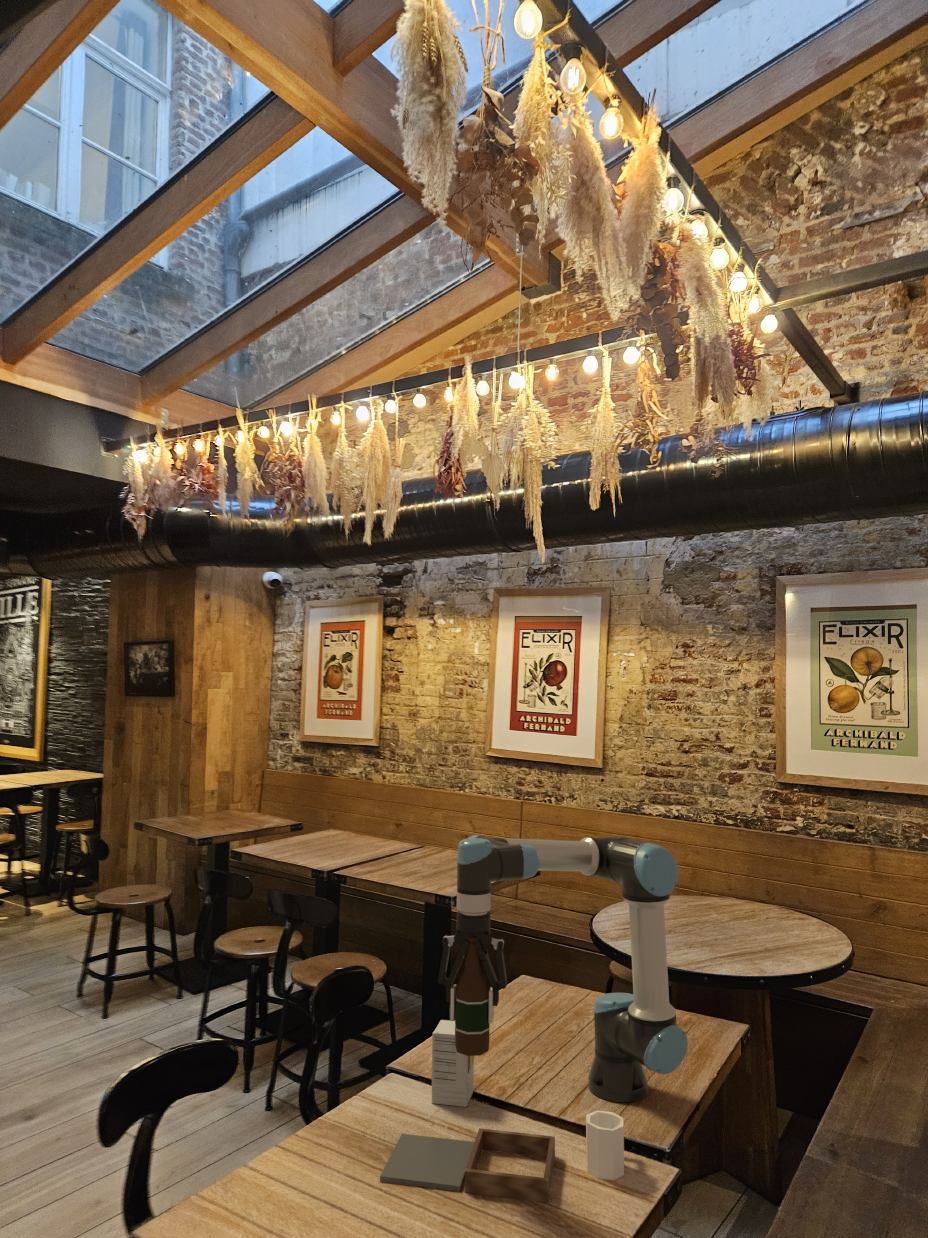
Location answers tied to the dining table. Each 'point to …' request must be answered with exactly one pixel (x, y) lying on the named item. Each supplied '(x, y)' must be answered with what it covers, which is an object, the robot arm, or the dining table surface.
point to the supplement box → (450, 1068)
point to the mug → (605, 1145)
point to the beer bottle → (472, 1006)
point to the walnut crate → (507, 1182)
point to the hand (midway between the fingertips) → (472, 1019)
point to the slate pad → (428, 1162)
